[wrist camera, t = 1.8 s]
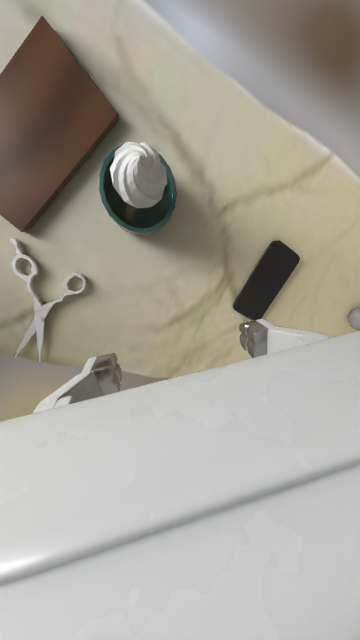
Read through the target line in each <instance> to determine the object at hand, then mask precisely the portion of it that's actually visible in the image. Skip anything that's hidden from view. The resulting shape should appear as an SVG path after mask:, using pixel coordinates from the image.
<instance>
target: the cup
mask: <svg viewBox="0 0 360 640" xmlns="http://www.w3.org/2000/svg"><path fill="white" fill-rule="evenodd" d="M138 144H139V143H138ZM121 146H122V145H121ZM121 146H119V147H117V148H115V149H113V150H112V151H111V152H110V153H109V155H108V156H107V157H106V158H105V159H104V161H103V164H102V167H101V170H100V174H99V191H100V195H101V199H102V202H103V204H104V206H105V208H106V210H107V212H108V213H109V215H110V216H111V217H112V219H113V220H114V221H115V222H116V223H117V224H118V225H119V226H120V227H121V228H122V229H124V230H125V231H127V232H129V233H131V234H135V235H140V236H143V235H150V234H152V233H154V232H156V231H158V230H159V229H160V228H161V227H162V226H163V225H164V224H165V223H166V222H167V221H168V220H169V219H170V217H171V215H172V213H173V210H174V208H175V203H176V196H177V195H176V194H177V192H176V184H175V179H174V177H173V174H172V172H171V169H170V167H169V166H168V164H167V163H166V161H165V160H164V159H163V157H162V156H161V155H160V154H158V155H159V158H160V162H161V163H162V164H163V165H164V166H165V167H166V175H167V185H166V186H165V187H164V191H163V195H162V199H161V200H160V201H158V202H157V203H156V204H155V205H153V206H152V207H148V208H135V207H134V206H131V205H130V204H128V203H126V202H124V201H123V199H122V197H121V196H120V195H119V193H118V192H117V191H116V189H115V188H114V186H113V183H112V178H111V172H110V167H111V165H112V163H113V161H114V157H115V151H116V150H117V149H119V148H120V147H121Z"/></svg>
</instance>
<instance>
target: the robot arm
mask: <svg viewBox="0 0 360 640" xmlns="http://www.w3.org/2000/svg"><path fill="white" fill-rule="evenodd" d="M239 331H240V332H241V335H240V343H241V345H242V347H243V348H244V349H245V350H248V353H249V354H250V355H251V356H252V357H253V358H251V359H247V360H243V361H239V362H235V363H231V364H227V365H223V366H219V367H215V368H211V369H207V370H203V371H199V372H195V373H191V374H187V375H183V376H180V377H176V378H172V379H168V380H164V381H160V382H156V383H152V384H148V385H144V386H140V387H136V388H132V389H128V390H124V391H120V392H119V390H120V381H121V379H122V372H121V368H120V365H119V364H117V356H116V354H115V353H112V354H107V355H102V356H97V357H93V358H89V359H88V361H87V362H86V364H85V366H84V368H83V370H82V372H81V374H78V375H77V376H75V377H74V378H72V379H71V380H70V381H68V382H67V383H66V384H64V385H63V386H62V387H60V388H59V389H57V390H56V391H55V392H53V393H52V394H51V395H49V396H48V397H46V398H45V399H44V400H42V401H41V402H40V403H39V404H38V405H37V407H36V408H35V410H34V411H33V413H32V414H30V415H25V416H21V417H17V418H13V419H9V420H6V421H2V422H0V640H360V331H358V332H354V333H350V334H346V335H342V336H338V337H334V338H330V337H328V336H326V335H324V334H322V333H317V332H311V331H304V330H298V329H291V328H285V327H276V326H274V325H273V324H271V323H269V322H268V321H266V320H264V319H258V320H254V321H250V322H246V323H242V324H240V326H239Z"/></svg>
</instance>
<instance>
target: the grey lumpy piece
mask: <svg viewBox="0 0 360 640" xmlns="http://www.w3.org/2000/svg"><path fill="white" fill-rule="evenodd" d="M348 321H349V322H350V325H351V326H352V327H354V328H356V329H358V330H360V308H356V309H354V310H353V311H352V312H351V313H350V315H349V317H348Z"/></svg>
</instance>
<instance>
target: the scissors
mask: <svg viewBox="0 0 360 640" xmlns="http://www.w3.org/2000/svg"><path fill="white" fill-rule="evenodd" d="M11 243H12V244H13V246H14V248H15V251H16V253H17V255H15V256H14V257H13V259H12V261H11V268H12V269H13V271H14V272H15V274H16V275H17V276H18V277H20V278H22V279H23V280H24V281H25V283H26V284H27V291H28V292H29V293H30V294H31V295H32V297H33V298H34V314H35V317H34V319H33V321H32V322H31V324H30V326H29V328H28V330H27V332H26V334H25V336H24V338H23V340H22V342H21V344H20V346H19V348H18V350H17V352H16V355H15V358H16V356H17V355H18V354H19V352H20V351H21V350H22V348H23V347H24V346H25V344H26V343H27V342H28V340H29V339H30V338H31V336H32V335H33V334H34V333H35V331H36V334H37V344H38V353H39V361H41V353H42V345H43V336H44V323H45V318H46V316H47V315H48V313H49V311H50V310H51V308H52V307H53V306H54V304H55V303H56V302H61V301H63V299H64V297H65V295H71V294H77V293H80V292H82V291H83V290H84V289H85V287H86V279H85V277H84V275H82V274H80V273H71V274H69V275H68V276H67V277H65V279H64V280H63V281H62V283H63V286H64V290H65V291H64V292H63V293H62V296H61V297H59V298H58V299H56V300H54V301H52V302H49V303H47V304H45V305H43V304H42V303H41V301H40V299H39V298H38V296H37V295H36V293H35V291H34V290H33V286H32V281H33V277H34V276H35V275H37V274H38V273H39V270H38V266H37V264H36V262H35V261H34V260H33V258H31V257H30V256H28V255H25V254H24V253H23V252H22V250H21V248H20V246H19V245H20V243H19V240H18V239H11ZM21 258H25V259H27V260H28V261H29V262H30V264H31V266H32V271H31V274H29V275H25V274H22V273H21V271H20V270H19V268H18V261H19V259H21ZM74 276H77V277H79V278H81V279H82V281H83V286H82V288H81V289H80V290H78V291H73V290H71V289H70V288H69V285H68V283H69V281H70V279H71V278H72V277H74ZM15 358H14V359H15Z"/></svg>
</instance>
